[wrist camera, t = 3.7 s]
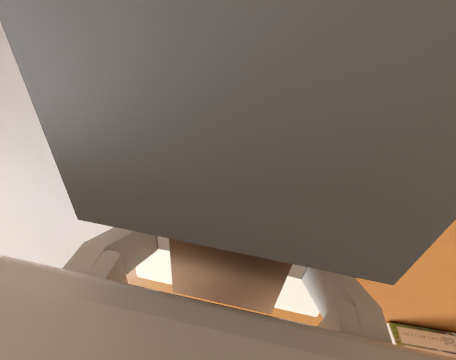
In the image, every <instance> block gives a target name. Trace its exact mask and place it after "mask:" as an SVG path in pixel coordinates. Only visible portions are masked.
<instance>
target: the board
mask: <svg viewBox="0 0 456 360" xmlns="http://www.w3.org/2000/svg"><path fill="white" fill-rule="evenodd" d="M0 21H1V24H2V26H3V29H4V31H5V34H6V36H7V39H8V42H9V44H10V47H11V49H12V52H13V54H14V57H15V60H16V62H17V65H18V67H19V70H20V72H21V75H22V77H23V80H24V83H25V85H26V88H27V90H28V93H29V95H30V98H31V100H32V103H33V106H34V108H35V111H36V113H37V116H38V118H39V121H40V124H41V126H42V129H43V131H44V134H45V136H46V139H47V141H48V144H49V147H50V149H51V152H52V154H53V157H54V159H55V162H56V165H57V167H58V170H59V172H60V175H61V177H62V180H63V182H64V185H65V188H66V190H67V193H68V195H69V198H70V200H71V203H72V205H73V208H74V211H75V213H76V216H77V218H78V220H83V221H88V222H93V223H97V224H102V225H107V226H112V227H117V228H121V229H126V230H131V231H136V232H141V233H145V234H150V235H155V236H160V237H165V238H169V239H174V240H179V241H184V242H189V243H193V244H198V245H203V246H208V247H213V248H217V249H222V250H227V251H232V252H237V253H241V254H246V255H251V256H256V257H261V258H265V259H270V260H275V261H280V262H285V263H289V264H294V265H299V266H304V267H309V268H313V269H318V270H323V271H328V272H333V273H337V274H342V275H347V276H352V277H357V278H361V279H366V280H371V281H376V282H381V283H385V284H390V285H394V284H395V283H396V282H397V281H398V280H399V279H400V278H401V277H402V276H403V275H404V274H405V273H406V272H407V270H408V269H409V268H410V267H411V266H412V265H413V264H414V263H415V262H416V261H417V260H418V259H419V258H420V257H421V256H422V254H423V253H424V252H425V251H426V250H427V249H428V248H429V247H430V246H431V245H432V244H433V243H434V242H435V241H436V240H437V238H438V237H439V236H440V235H441V234H442V233H443V232H444V231H445V230H446V229H447V228H448V227H449V226H450V225H451V224H452V222H453V221H454V220H455V219H456V0H0ZM135 268H136V273H137V277H140V278H145V279H149V280H154V281H158V282H163V283H167V284H172V273H171V260H170V251H167V250H161V249H158V250H157V251H156V252H155V253H153V254H152V255H151V256H149V257H148V258H147V259H146V260H144V261H143V262H142V263H140V264H139V265H138V266H137V267H135ZM274 308H279V309H283V310H288V311H292V312H296V313H301V314H305V315H310V316H314V317H317V316H318V314H319V313H320V312H319V310H318V308H317V306H316V305H315V303H314V301H313V299H312V298H311V296H310V294H309V293H308V291H307V289H306V287H305V286H304V284H303V282H302V279H298V278H294V277H290V276H287V278H286V281H285V283H284V285H283V288H282V290H281V292H280V295H279V297H278V299H277V301H276V304H275V306H274Z"/></svg>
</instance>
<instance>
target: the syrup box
mask: <svg viewBox="0 0 456 360" xmlns="http://www.w3.org/2000/svg"><path fill="white" fill-rule="evenodd" d="M387 327H388V330H389V333H390V336H391V339H392V342H393V344H395V345H400V346H404V347H409V348H413V349H418V350H422V351H426V352H431V353H435V354H440V355H444V356H448V357H453V358H456V333H453V332H447V331H441V330H434V329H429V328H423V327H416V326H410V325H403V324H397V323H390V322H388V323H387Z"/></svg>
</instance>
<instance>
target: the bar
mask: <svg viewBox="0 0 456 360" xmlns="http://www.w3.org/2000/svg"><path fill="white" fill-rule="evenodd" d="M169 247H170V260H171V273H172V287H173V292H175V293H179V294H184V295H188V296H193V297H197V298H202V299H206V300H210V301H215V302H219V303H224V304H228V305H232V306H237V307H241V308H246V309H250V310H254V311H259V312H263V313H268V314H271V313H272V311H273V308H274V306H275V304H276V301H277V299H278V297H279V295H280V292H281V290H282V288H283V285H284V283H285V281H286V278H287V276H288V274H289V271H290V269H291V267H292V265H293V264H289V263H285V262H280V261H275V260H270V259H265V258H261V257H256V256H251V255H246V254H241V253H237V252H232V251H227V250H222V249H217V248H213V247H208V246H203V245H198V244H193V243H189V242H184V241H179V240H174V239H169Z"/></svg>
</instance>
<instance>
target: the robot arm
mask: <svg viewBox="0 0 456 360" xmlns="http://www.w3.org/2000/svg"><path fill="white" fill-rule="evenodd" d="M158 249H161V250H167V251H170V247H169V238H165V237H160V236H155V235H150V234H145V233H141V232H136V231H131V230H126V229H121V228H117V227H114V228H112V229H110V230H108V231H106V232H104V233H102V234H100V235H98V236H96V237H94V238H92V239H90V240H89V241H87V242H85V243H83V244H82V245H81V247H80V248H79V249H78V250H77V251H76V253H75V254H74V255H73V256H72V258H71V259H70V260H69V261H68V262H67V264H66V265H65V266H64V267H63V268H62V269H60V268H56V267H51V266H47V265H43V264H38V263H34V262H29V261H25V260H21V259H16V258H12V257H7V256H3V255H0V360H456V358H453V357H448V356H444V355H440V354H435V353H431V352H426V351H422V350H418V349H413V348H409V347H404V346H400V345H395V344H393V342H392V339H391V336H390V333H389V330H388V327H387V324H386V321H385V318H384V315H383V312H382V309H381V307H380V306H379V305H378V304H377V302H376V301H375V300H374V299H373V298H372V297H371V296H370V295H369V293H368V292H367V291H366V290H365V289H364V288H363V287H362V286H361V284H360V283H359V282H358V281H357V280H356V279H355V278H354V277H352V276H347V275H342V274H337V273H333V272H328V271H323V270H318V269H313V268H309V267H304V266H299V265H294V264H293V265H292V267H291V269H290V271H289V274H288V276H290V277H294V278H298V279H302V282H303V284H304V286H305V287H306V289H307V291H308V293H309V294H310V296H311V298H312V299H313V301H314V303H315V305H316V306H317V308H318V310H319V312H320V313H321V315H322V317H323V319H322V321H321V322H320V324H319V325H318V326H317V327H316V326H312V325H307V324H303V323H298V322H294V321H290V320H285V319H281V318H276V317H272V316H268V315H263V314H259V313H254V312H250V311H245V310H241V309H237V308H232V307H228V306H223V305H219V304H214V303H210V302H206V301H201V300H197V299H192V298H188V297H184V296H179V295H175V294H170V293H166V292H162V291H157V290H153V289H148V288H144V287H139V286H135V285H131V284H128V282H127V278H126V274H128V273H129V272H130V271H131V270H133V269H134V268H135V267H137V266H138V265H139V264H140V263H142V262H143V261H144V260H146V259H147V258H148V257H149V256H151V255H152V254H153V253H155V252H156V251H157V250H158Z"/></svg>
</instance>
